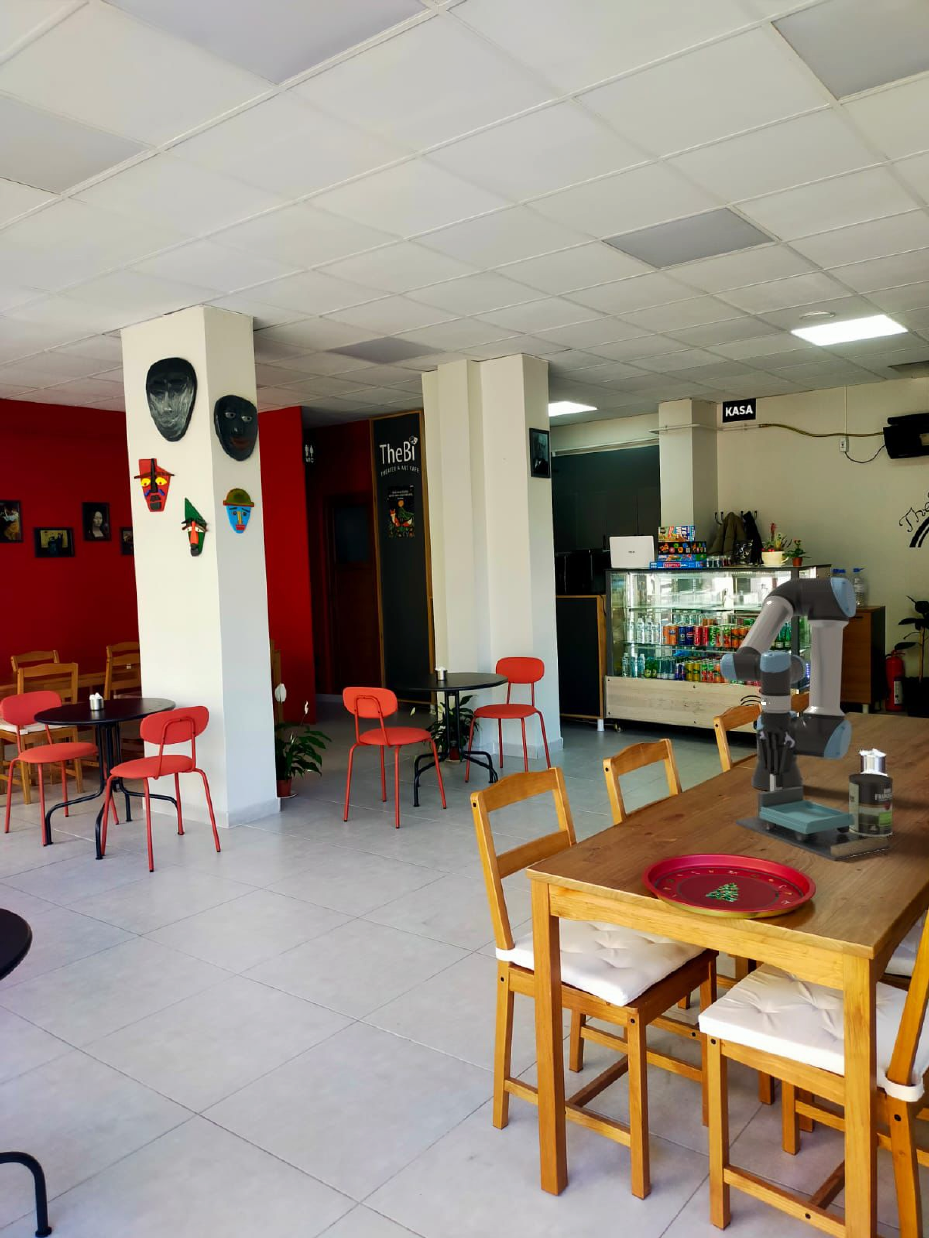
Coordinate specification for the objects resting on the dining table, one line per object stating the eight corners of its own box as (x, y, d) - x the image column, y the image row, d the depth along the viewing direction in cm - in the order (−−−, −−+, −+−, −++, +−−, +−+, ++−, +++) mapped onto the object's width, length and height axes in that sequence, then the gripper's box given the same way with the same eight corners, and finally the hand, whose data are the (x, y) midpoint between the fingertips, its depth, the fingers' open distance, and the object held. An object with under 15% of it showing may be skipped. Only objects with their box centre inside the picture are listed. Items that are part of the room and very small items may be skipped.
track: (735, 823, 239) (735, 813, 238) (786, 814, 246) (786, 804, 246) (834, 860, 207) (834, 849, 207) (890, 848, 215) (890, 837, 214)
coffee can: (901, 833, 226) (901, 778, 225) (874, 840, 221) (874, 784, 221) (866, 823, 235) (866, 770, 234) (839, 829, 231) (839, 776, 230)
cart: (755, 825, 233) (754, 793, 232) (801, 816, 239) (801, 785, 239) (805, 844, 217) (805, 809, 216) (854, 834, 223) (854, 801, 223)
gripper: (747, 708, 239) (748, 794, 241) (782, 715, 227) (782, 805, 229) (769, 705, 242) (769, 791, 244) (805, 712, 230) (805, 802, 232)
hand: (776, 798), depth 236 cm, fingers closed
